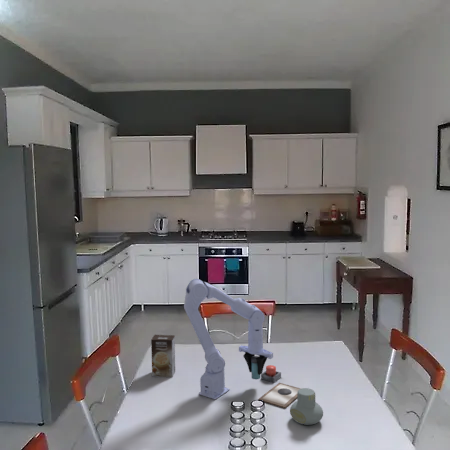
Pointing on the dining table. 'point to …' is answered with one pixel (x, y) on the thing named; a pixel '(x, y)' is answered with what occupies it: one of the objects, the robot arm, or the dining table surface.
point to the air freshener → (306, 408)
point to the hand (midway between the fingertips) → (255, 372)
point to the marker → (254, 368)
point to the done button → (271, 370)
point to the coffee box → (163, 355)
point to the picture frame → (280, 395)
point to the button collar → (270, 378)
